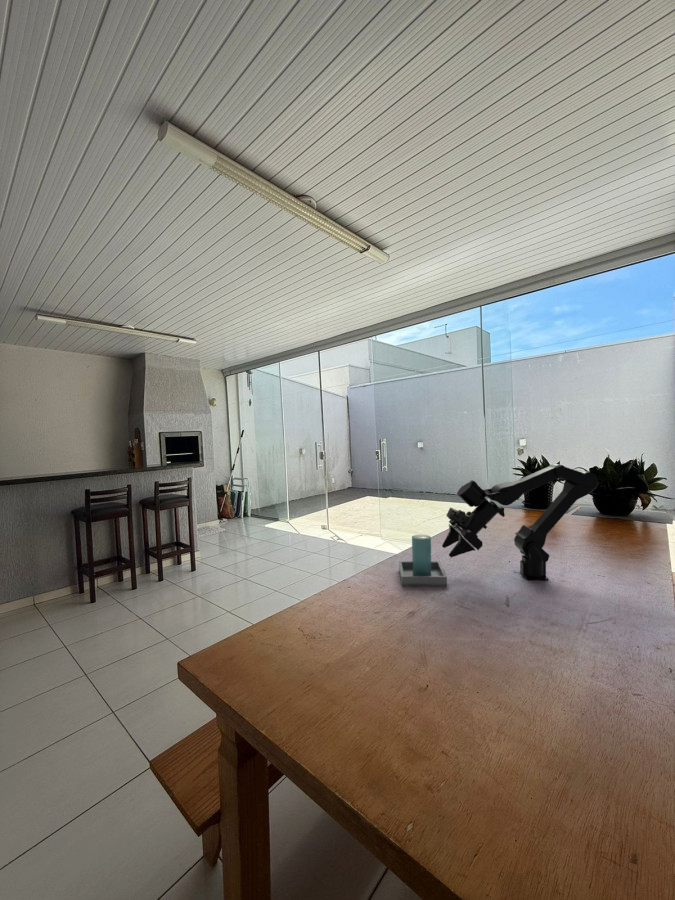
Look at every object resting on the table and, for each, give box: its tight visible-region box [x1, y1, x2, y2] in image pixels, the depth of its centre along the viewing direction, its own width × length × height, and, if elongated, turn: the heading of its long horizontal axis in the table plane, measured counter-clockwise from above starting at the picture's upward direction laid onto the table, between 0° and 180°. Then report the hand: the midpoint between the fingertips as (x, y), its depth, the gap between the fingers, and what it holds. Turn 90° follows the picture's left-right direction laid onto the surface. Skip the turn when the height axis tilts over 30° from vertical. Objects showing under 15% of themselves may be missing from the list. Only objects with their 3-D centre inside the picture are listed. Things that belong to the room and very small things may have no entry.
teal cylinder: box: [411, 534, 432, 576], centre depth 125 cm, size 6×6×13 cm
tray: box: [398, 560, 448, 587], centre depth 125 cm, size 14×14×3 cm
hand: (446, 551), depth 124 cm, fingers open, 9 cm apart
